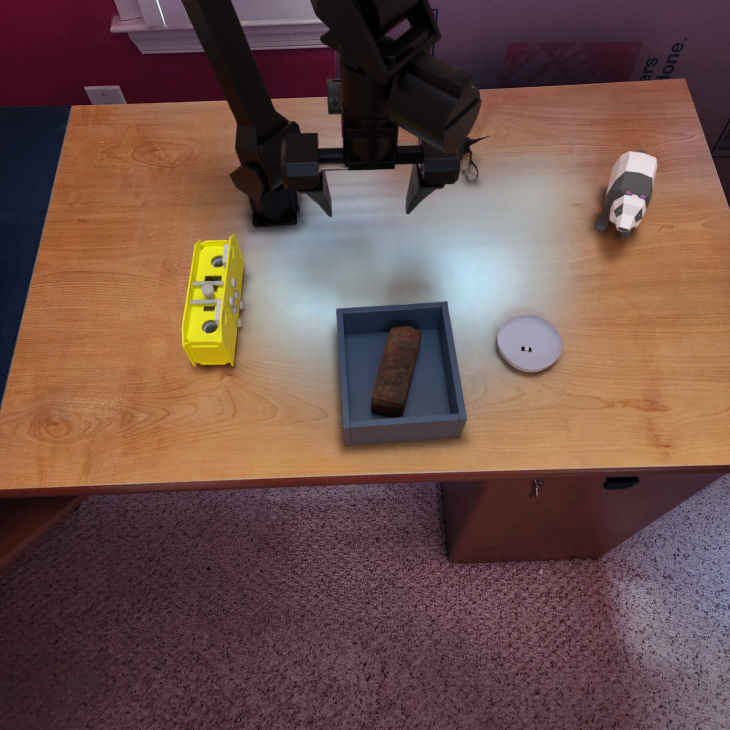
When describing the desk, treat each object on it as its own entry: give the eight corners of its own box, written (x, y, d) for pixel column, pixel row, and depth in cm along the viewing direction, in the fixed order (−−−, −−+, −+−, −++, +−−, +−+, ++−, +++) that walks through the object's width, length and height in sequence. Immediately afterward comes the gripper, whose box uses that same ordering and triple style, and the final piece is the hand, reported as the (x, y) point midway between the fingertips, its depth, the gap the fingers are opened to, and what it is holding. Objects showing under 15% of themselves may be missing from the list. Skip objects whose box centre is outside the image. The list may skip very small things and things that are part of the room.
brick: (402, 421, 68) (404, 404, 64) (370, 413, 69) (370, 396, 65) (420, 345, 73) (424, 326, 69) (390, 339, 74) (391, 319, 70)
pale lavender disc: (557, 381, 71) (561, 374, 70) (492, 371, 72) (495, 364, 70) (558, 326, 75) (563, 319, 73) (497, 318, 76) (499, 310, 74)
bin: (344, 445, 68) (343, 428, 63) (338, 332, 75) (335, 308, 70) (460, 437, 68) (467, 419, 63) (442, 325, 75) (447, 301, 70)
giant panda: (603, 184, 87) (628, 131, 78) (641, 193, 86) (670, 141, 77) (585, 256, 80) (610, 207, 72) (625, 267, 80) (655, 219, 71)
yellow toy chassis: (238, 368, 73) (223, 334, 65) (193, 369, 73) (173, 335, 65) (248, 266, 80) (236, 225, 73) (207, 267, 80) (191, 226, 73)
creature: (468, 195, 87) (493, 155, 89) (469, 173, 82) (496, 131, 84) (423, 175, 89) (448, 136, 91) (421, 153, 84) (448, 112, 86)
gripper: (457, 43, 59) (439, 161, 73) (274, 48, 59) (291, 166, 73) (472, 119, 54) (449, 230, 68) (272, 125, 54) (290, 235, 68)
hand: (368, 212), depth 69 cm, fingers open, 9 cm apart
